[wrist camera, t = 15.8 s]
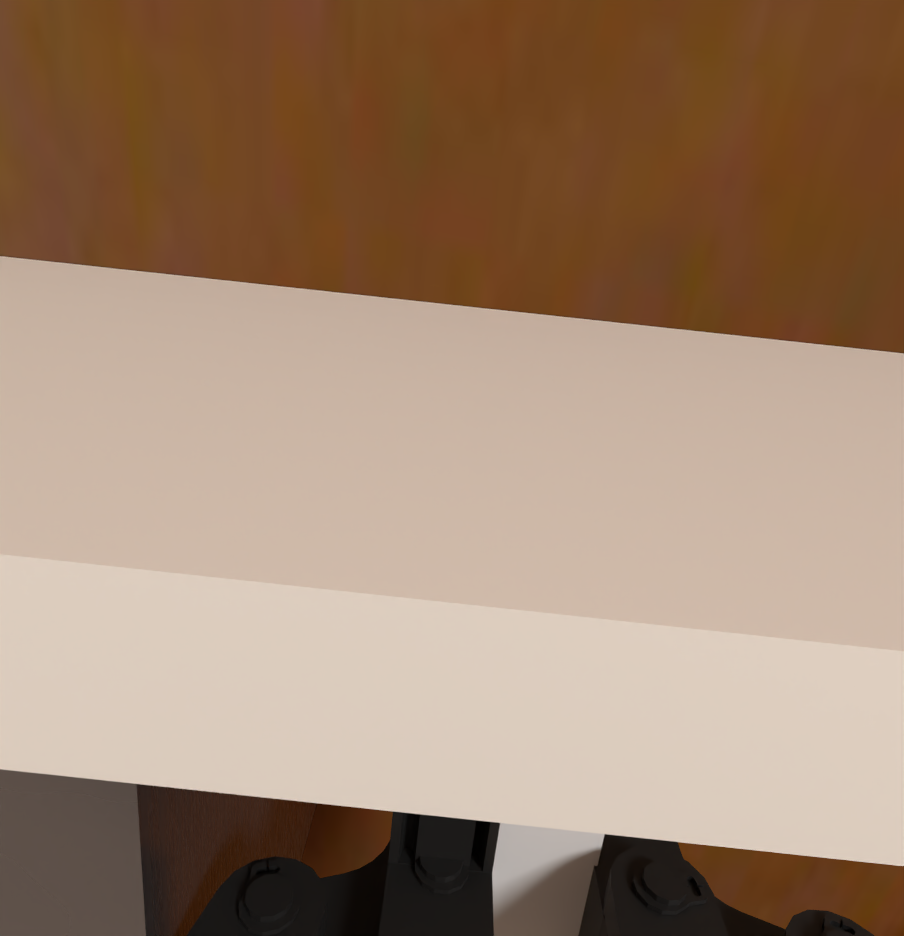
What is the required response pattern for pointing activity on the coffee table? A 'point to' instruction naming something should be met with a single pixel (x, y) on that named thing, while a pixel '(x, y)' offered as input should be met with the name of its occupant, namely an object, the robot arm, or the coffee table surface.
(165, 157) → the coffee table surface
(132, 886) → the bookend
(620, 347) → the white upright backboard
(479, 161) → the coffee table surface
